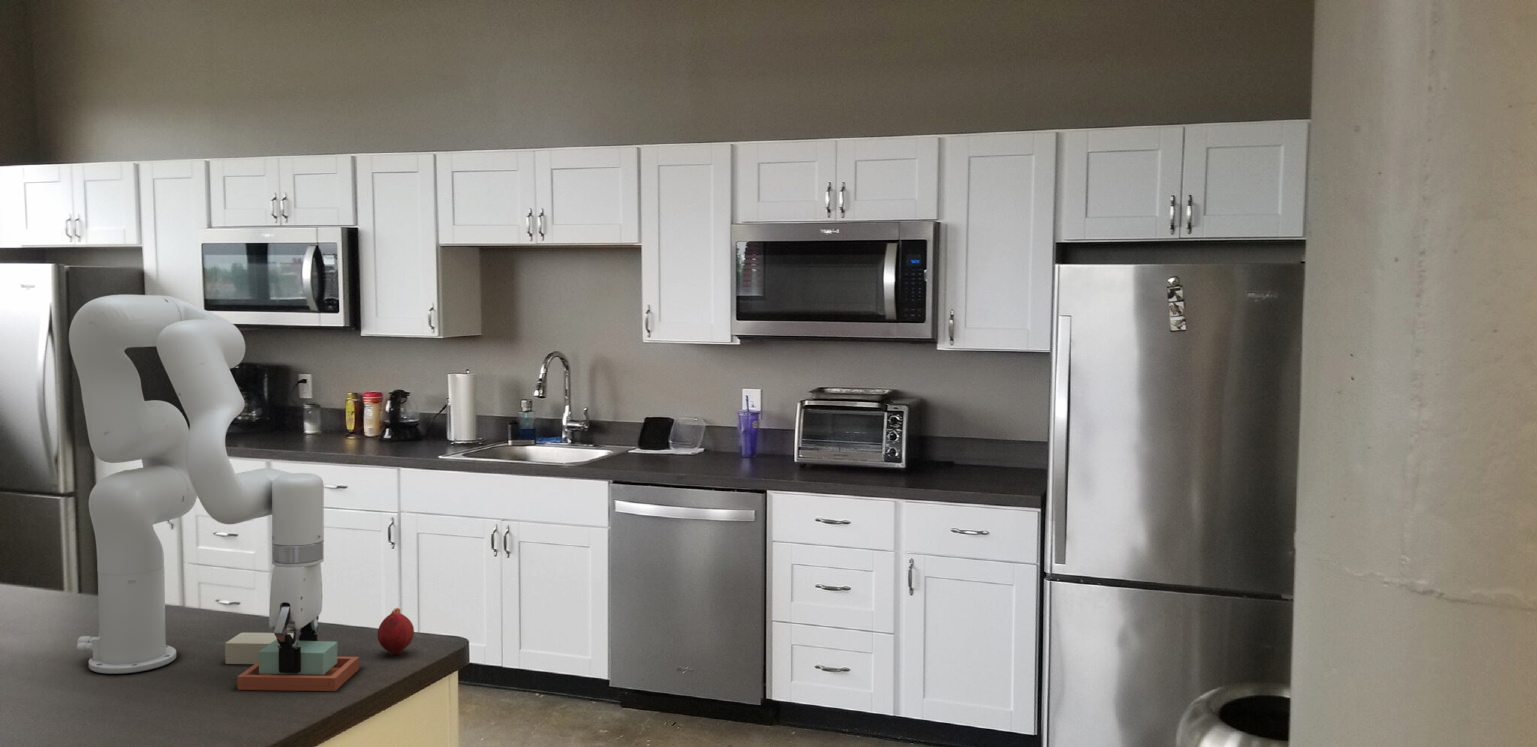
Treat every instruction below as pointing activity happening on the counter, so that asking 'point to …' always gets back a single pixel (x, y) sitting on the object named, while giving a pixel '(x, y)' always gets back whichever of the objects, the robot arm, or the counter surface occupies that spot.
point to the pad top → (247, 647)
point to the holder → (299, 678)
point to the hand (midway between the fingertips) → (298, 664)
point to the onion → (395, 632)
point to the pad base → (313, 657)
